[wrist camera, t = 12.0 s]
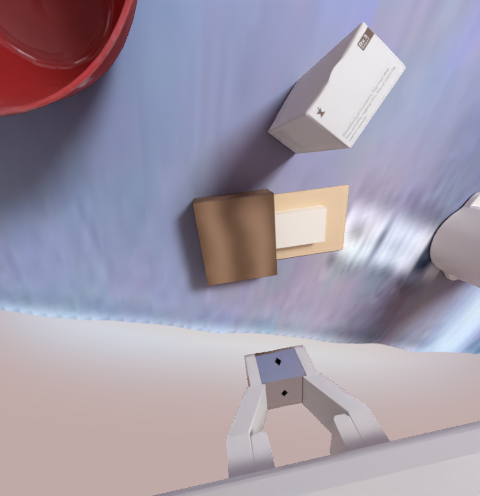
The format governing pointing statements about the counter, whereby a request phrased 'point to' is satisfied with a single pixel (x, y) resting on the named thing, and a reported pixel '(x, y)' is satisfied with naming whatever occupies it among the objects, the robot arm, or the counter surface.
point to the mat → (335, 217)
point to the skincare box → (338, 95)
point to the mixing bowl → (57, 48)
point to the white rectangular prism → (300, 226)
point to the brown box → (237, 235)
